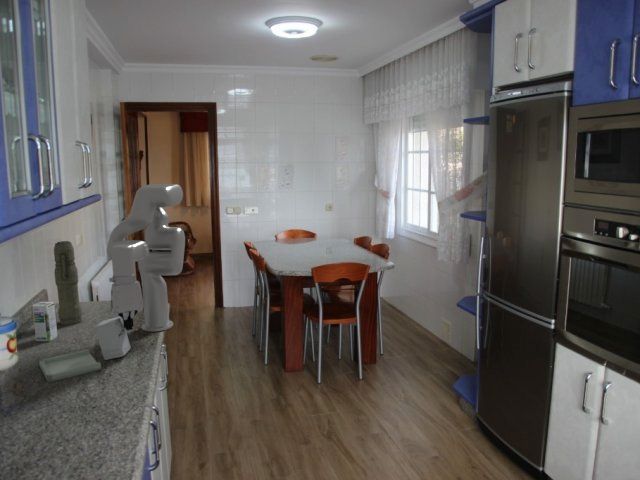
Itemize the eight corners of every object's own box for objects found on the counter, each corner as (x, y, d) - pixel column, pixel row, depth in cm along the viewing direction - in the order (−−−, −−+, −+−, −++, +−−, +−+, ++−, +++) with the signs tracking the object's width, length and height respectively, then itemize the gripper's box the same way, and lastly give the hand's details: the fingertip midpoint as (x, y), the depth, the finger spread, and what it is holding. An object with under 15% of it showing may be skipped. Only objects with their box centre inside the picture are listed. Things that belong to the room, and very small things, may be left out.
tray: (39, 366, 177) (38, 360, 176) (89, 354, 186) (88, 349, 186) (48, 382, 164) (47, 376, 164) (101, 369, 174) (100, 363, 173)
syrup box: (35, 341, 200) (31, 305, 198) (44, 336, 206) (40, 301, 204) (49, 341, 200) (45, 305, 197) (58, 336, 206) (54, 301, 203)
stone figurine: (81, 316, 230) (74, 239, 224) (82, 324, 219) (75, 243, 213) (59, 319, 226) (51, 240, 220) (59, 327, 216) (50, 245, 210)
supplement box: (124, 356, 181) (113, 322, 179) (104, 360, 181) (93, 327, 179) (131, 348, 188) (121, 315, 186) (112, 352, 188) (101, 320, 186)
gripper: (105, 284, 175) (110, 336, 178) (149, 277, 184) (153, 327, 187) (99, 280, 181) (104, 330, 184) (142, 274, 190) (146, 322, 193)
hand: (128, 328), depth 185 cm, fingers closed
